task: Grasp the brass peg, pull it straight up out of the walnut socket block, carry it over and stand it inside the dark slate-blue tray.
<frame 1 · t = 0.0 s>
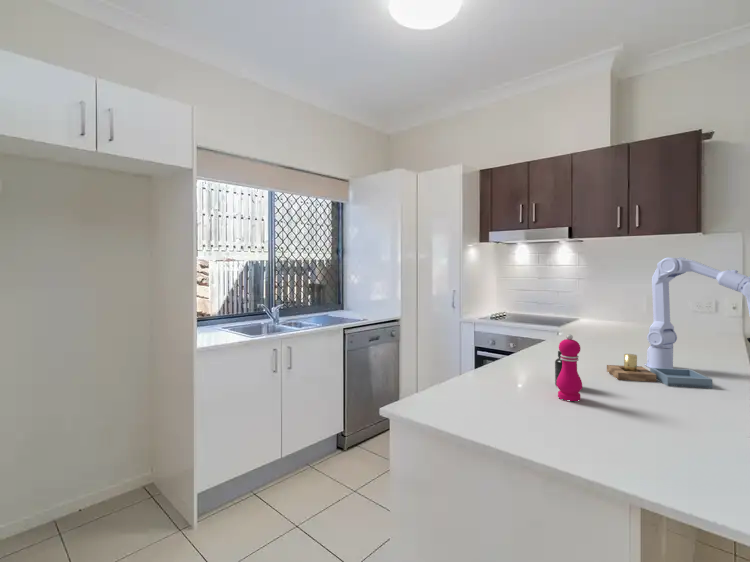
walnut socket block: (630, 376, 146), on the counter
slate-blue tray: (679, 381, 139), on the counter
brass peg: (630, 365, 146), in the walnut socket block
pepper mill: (569, 399, 122), on the counter
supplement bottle: (565, 387, 134), on the counter
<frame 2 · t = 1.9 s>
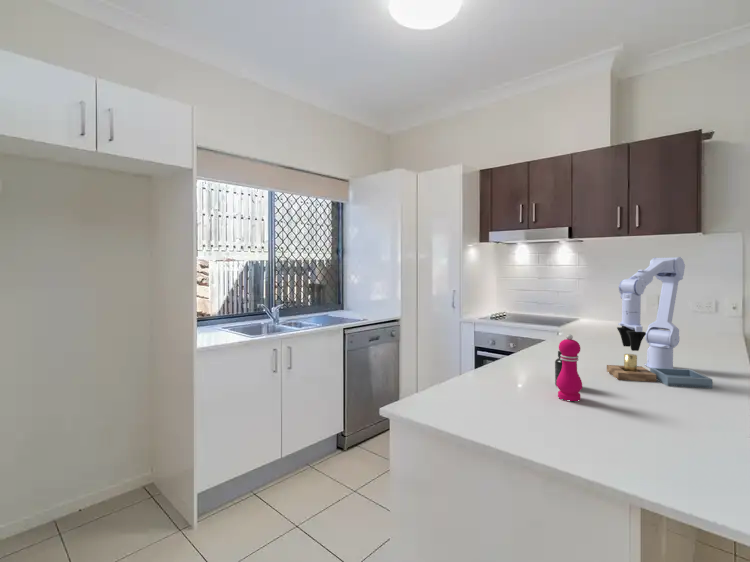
hand: (630, 348, 145), 10 cm above the counter, tool pointing down, fingers open, 7 cm apart
nothing on the counter moved.
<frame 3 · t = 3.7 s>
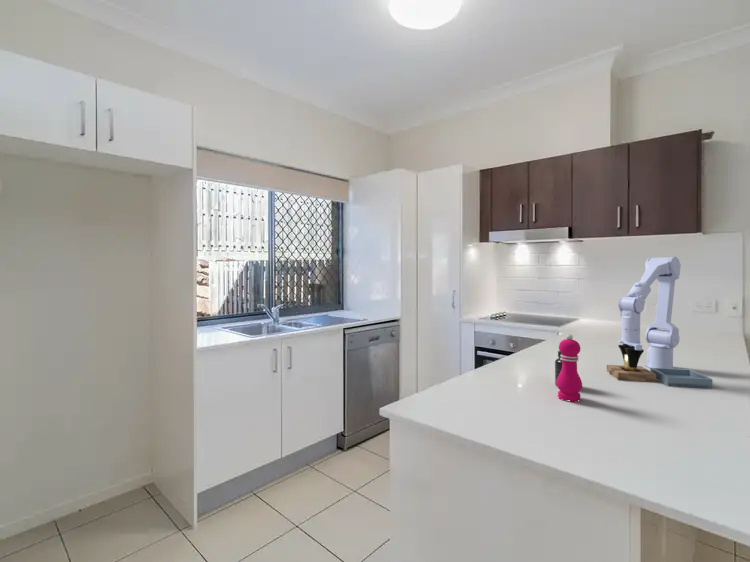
hand: (630, 365, 146), 4 cm above the counter, tool pointing down, fingers closed on brass peg, 4 cm apart
brass peg: (630, 365, 146), in the walnut socket block, touching gripper
everything else where it was.
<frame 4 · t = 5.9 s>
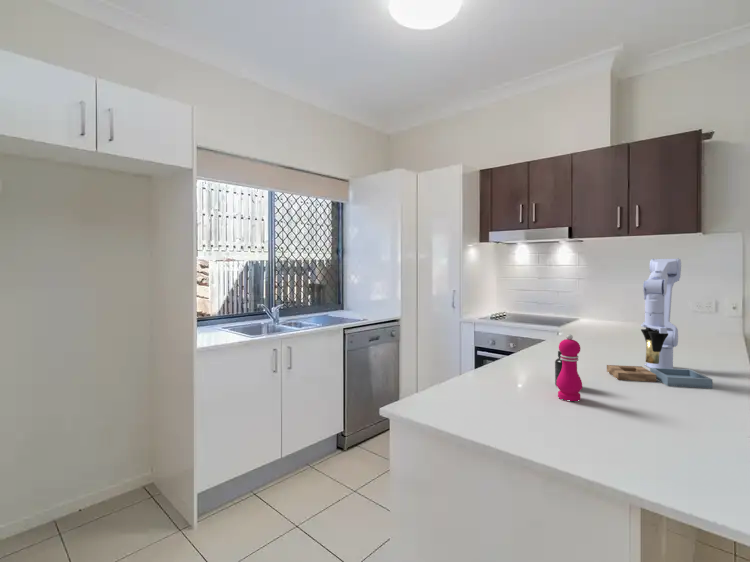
hand: (653, 350, 142), 10 cm above the counter, tool pointing down, fingers closed on brass peg, 4 cm apart
brass peg: (652, 351, 142), point 10 cm above the counter, touching gripper
everything else where it was.
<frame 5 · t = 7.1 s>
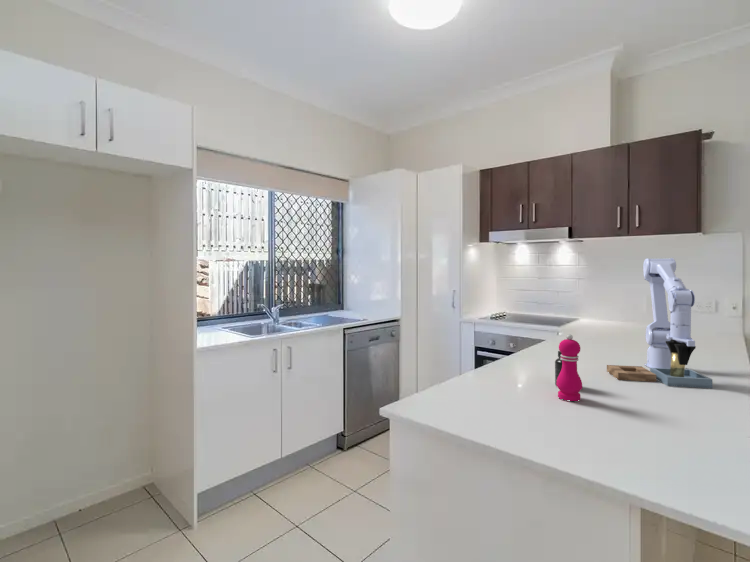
hand: (679, 363, 139), 7 cm above the counter, tool pointing down, fingers closed on brass peg, 4 cm apart
brass peg: (677, 364, 139), point 6 cm above the counter, touching gripper
everything else where it was.
when the fingers open (6 cm above the counter, at t = 7.9 s): brass peg stays where it is, resting on slate-blue tray.
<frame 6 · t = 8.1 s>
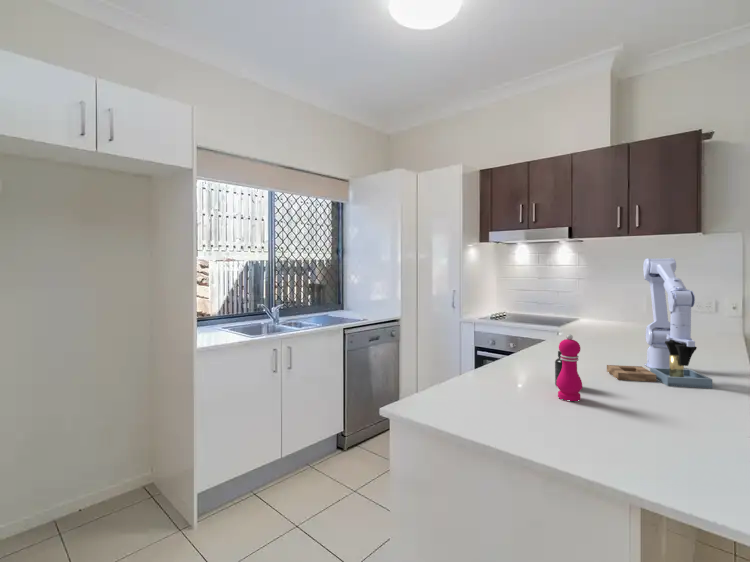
hand: (679, 363, 139), 6 cm above the counter, tool pointing down, fingers open, 5 cm apart
brass peg: (676, 367, 139), in the slate-blue tray, point 5 cm above the counter
everything else where it was.
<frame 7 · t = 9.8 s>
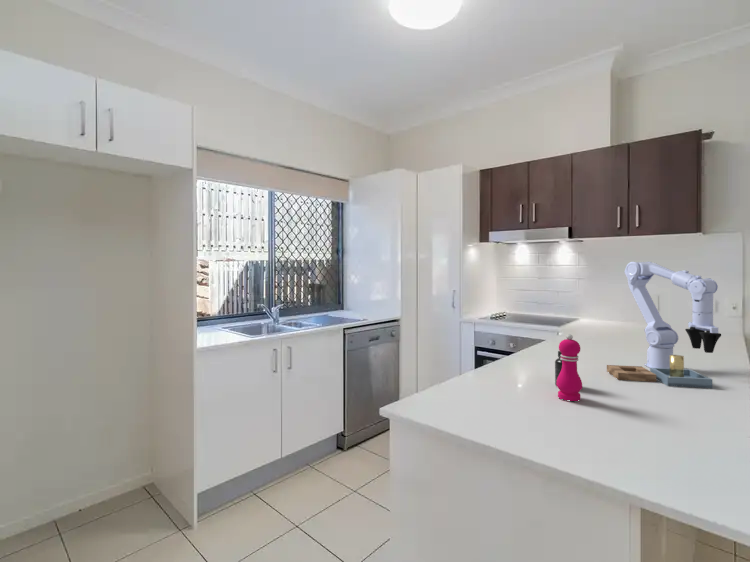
hand: (702, 350, 141), 10 cm above the counter, tool pointing down, fingers open, 7 cm apart
nothing on the counter moved.
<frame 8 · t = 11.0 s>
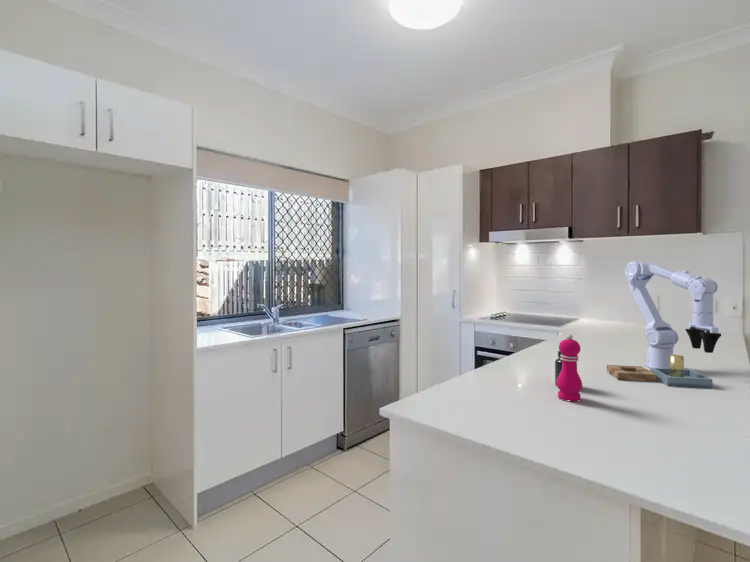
hand: (702, 350, 141), 10 cm above the counter, tool pointing down, fingers open, 7 cm apart
nothing on the counter moved.
at the end: brass peg inside the target area on the slate-blue tray (0.8 cm from its centre), point 5.1 cm above the slate-blue tray's base; brass peg tilted 2°; the gripper is holding nothing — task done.
